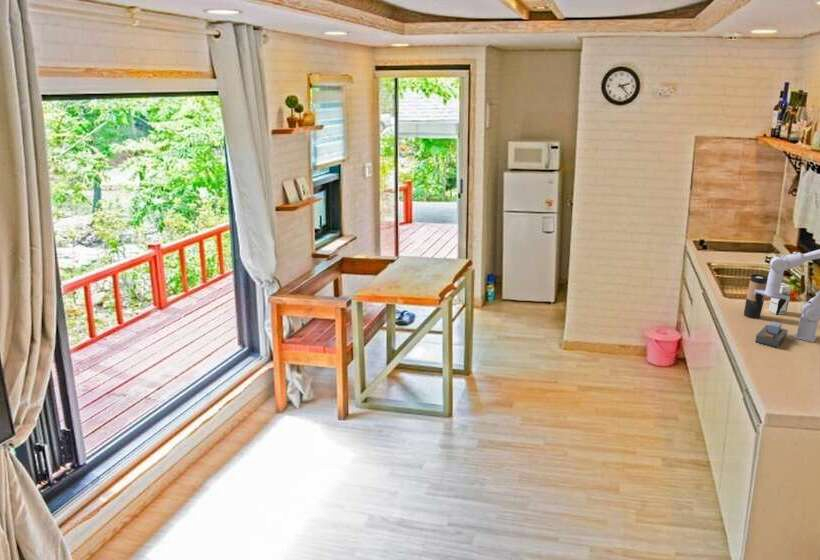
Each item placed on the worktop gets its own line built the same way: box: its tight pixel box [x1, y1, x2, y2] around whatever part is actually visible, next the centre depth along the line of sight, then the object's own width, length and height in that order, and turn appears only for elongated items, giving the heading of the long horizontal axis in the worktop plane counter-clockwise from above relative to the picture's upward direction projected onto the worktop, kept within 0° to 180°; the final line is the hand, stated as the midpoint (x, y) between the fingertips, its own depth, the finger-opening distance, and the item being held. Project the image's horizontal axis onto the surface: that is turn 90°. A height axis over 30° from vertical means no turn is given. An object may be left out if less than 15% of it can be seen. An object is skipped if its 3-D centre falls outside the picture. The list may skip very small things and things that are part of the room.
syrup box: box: [768, 282, 792, 315], centre depth 358 cm, size 6×6×14 cm
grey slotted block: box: [754, 324, 789, 349], centre depth 321 cm, size 18×9×4 cm, turn 142°
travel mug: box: [743, 273, 768, 319], centre depth 349 cm, size 8×8×20 cm
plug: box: [768, 321, 783, 334], centre depth 323 cm, size 6×4×6 cm, turn 142°
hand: (767, 312), depth 328 cm, fingers open, 7 cm apart
